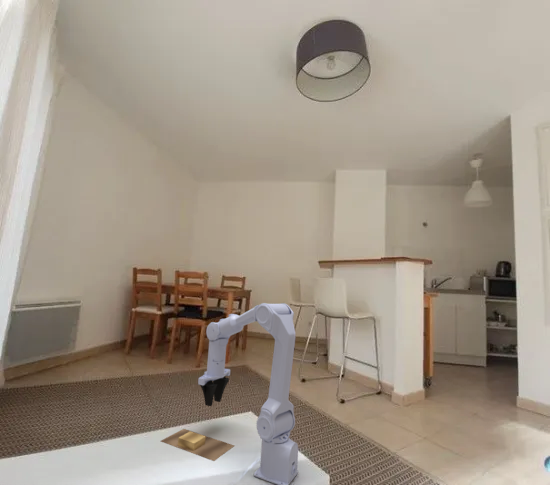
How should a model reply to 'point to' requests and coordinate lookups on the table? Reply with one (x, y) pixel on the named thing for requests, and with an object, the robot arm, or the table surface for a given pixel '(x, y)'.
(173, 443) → the deck
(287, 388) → the robot arm
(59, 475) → the table surface
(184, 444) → the tile
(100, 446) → the table surface
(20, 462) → the table surface
